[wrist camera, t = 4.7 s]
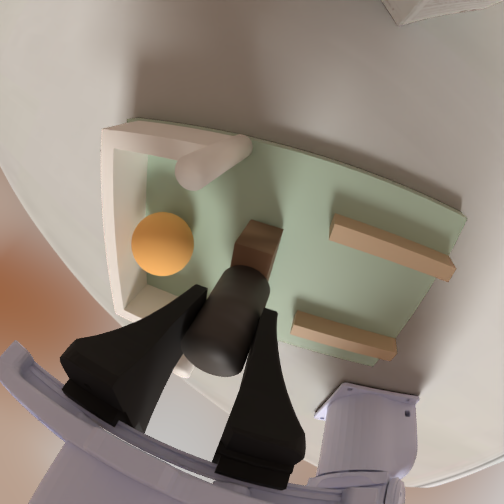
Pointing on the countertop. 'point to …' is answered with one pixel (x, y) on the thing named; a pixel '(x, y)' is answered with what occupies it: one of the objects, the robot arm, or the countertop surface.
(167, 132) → the pitch
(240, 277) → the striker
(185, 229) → the ball
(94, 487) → the robot arm
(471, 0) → the supplement box
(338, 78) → the countertop surface
